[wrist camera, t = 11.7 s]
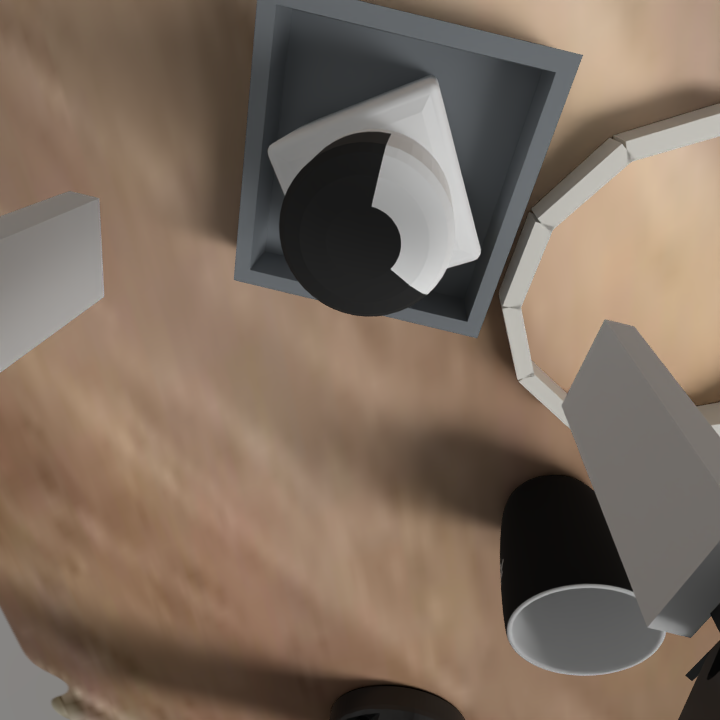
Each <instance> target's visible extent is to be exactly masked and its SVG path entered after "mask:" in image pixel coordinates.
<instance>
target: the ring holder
mask: <svg viewBox="0 0 720 720" xmlns="http://www.w3.org/2000/svg"><path fill="white" fill-rule="evenodd" d="M719 136H720V103H719V104H715V105H712V106H709V107H705V108H702V109H699V110H695V111H692V112H689V113H686V114H682V115H679V116H676V117H672V118H669V119H666V120H663V121H659V122H656V123H653V124H649V125H646V126H643V127H639V128H636V129H633V130H630V131H626V132H623V133H620V134H616V135H613V138H614V139H611V138H609V139H607V140H606V141H605V142H604V143H603V144H602V145H601V146H600V147H599V148H598V149H596V150H595V151H594V152H593V153H592V154H591V155H590V156H589V157H588V158H586V159H585V160H584V161H583V162H582V163H581V164H580V165H579V166H578V167H577V168H575V169H574V170H573V171H572V172H571V173H570V174H569V175H568V176H567V177H566V178H564V179H563V180H562V181H561V182H560V183H559V184H558V185H557V186H556V187H555V188H553V189H552V190H551V191H550V192H549V193H548V194H547V195H546V196H545V197H543V198H542V199H541V200H540V201H539V202H538V203H537V204H536V205H535V206H534V207H532V208H531V209H532V211H533V212H534V213H532V212H529V213H528V216H527V218H526V221H525V224H524V226H523V229H522V232H521V234H520V237H519V240H518V242H517V245H516V248H515V250H514V253H513V255H512V258H511V261H510V263H509V266H508V269H507V271H506V274H505V277H504V279H503V282H502V285H501V287H500V290H499V300H500V304H501V309H502V314H503V318H504V323H505V328H506V332H507V337H508V342H509V346H510V351H511V356H512V360H513V365H514V368H515V372H516V376H517V380H518V381H519V383H521V384H522V385H523V386H524V387H525V388H526V389H527V390H528V391H529V392H530V393H531V394H533V395H534V396H535V397H536V398H537V399H538V400H539V401H540V402H541V403H542V404H543V405H545V406H546V407H547V408H548V409H549V410H550V411H551V412H552V413H553V414H554V415H556V416H557V417H558V418H559V419H560V420H561V421H562V422H563V423H564V424H565V425H566V426H568V427H569V424H568V421H567V419H566V416H565V414H564V411H563V408H562V406H561V405H562V404H563V402H564V400H565V398H566V396H567V393H566V392H565V391H564V390H563V389H562V388H561V387H560V386H559V385H558V384H556V383H555V382H554V381H553V380H552V379H551V378H550V377H549V376H548V375H547V374H546V373H545V372H544V371H543V370H542V369H541V368H539V367H538V366H537V365H536V364H535V363H534V362H533V361H532V360H531V356H530V351H529V346H528V341H527V336H526V331H525V325H524V320H523V315H522V310H521V306H522V304H523V301H524V299H525V296H526V294H527V292H528V289H529V287H530V284H531V282H532V279H533V277H534V274H535V272H536V270H537V267H538V265H539V262H540V260H541V257H542V255H543V253H544V250H545V248H546V245H547V243H548V240H549V238H550V235H551V233H552V231H553V229H554V228H555V227H557V226H558V225H559V224H560V223H561V222H562V221H564V220H565V219H566V218H567V217H568V216H569V215H570V214H572V213H573V212H574V211H575V210H576V209H577V208H579V207H580V206H581V205H582V204H583V203H584V202H585V201H587V200H588V199H589V198H590V197H591V196H592V195H594V194H595V193H596V192H597V191H598V190H599V189H601V188H602V187H603V186H604V185H605V184H606V183H607V182H609V181H610V180H611V179H612V178H613V177H614V176H616V175H617V174H618V173H619V172H620V171H621V170H622V169H624V168H625V167H626V166H627V165H628V164H629V163H631V162H632V161H636V160H639V159H643V158H646V157H649V156H653V155H656V154H660V153H663V152H667V151H670V150H674V149H677V148H681V147H684V146H688V145H691V144H694V143H698V142H701V141H705V140H708V139H712V138H715V137H719ZM696 407H697V408H698V409H699V411H700V412H701V413H702V415H703V416H704V417H705V418H706V420H707V421H708V422H709V424H710V425H711V426H712V427H713V429H714V430H715V431H716V433H717V434H718V435H719V436H720V402H718V403H713V404H707V405H701V406H696ZM569 428H570V427H569Z"/></svg>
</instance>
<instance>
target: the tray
mask: <svg viewBox="0 0 720 720" xmlns="http://www.w3.org/2000/svg"><path fill="white" fill-rule="evenodd" d="M582 56H583V55H580V54H576V53H572V52H568V51H564V50H560V49H556V48H552V47H547V46H543V45H539V44H535V43H531V42H527V41H523V40H519V39H515V38H510V37H506V36H502V35H498V34H494V33H490V32H486V31H482V30H478V29H473V28H469V27H465V26H461V25H457V24H453V23H449V22H445V21H441V20H436V19H432V18H428V17H424V16H420V15H416V14H412V13H408V12H404V11H399V10H395V9H391V8H387V7H383V6H379V5H375V4H371V3H367V2H362V1H358V0H257V9H256V21H255V33H254V45H253V57H252V69H251V81H250V93H249V105H248V117H247V129H246V141H245V153H244V165H243V177H242V189H241V201H240V213H239V225H238V237H237V249H236V261H235V273H234V280H236V281H240V282H244V283H248V284H253V285H257V286H261V287H265V288H269V289H273V290H278V291H282V292H286V293H290V294H294V295H299V296H303V297H307V298H311V299H315V300H317V299H316V298H314V297H313V296H312V295H311V294H310V293H308V292H307V291H306V290H305V289H304V288H303V287H302V285H301V284H300V283H299V282H298V281H297V279H296V278H295V276H294V275H293V273H292V272H291V270H290V268H289V266H288V264H287V262H286V260H285V257H284V254H283V251H282V247H281V242H280V237H279V219H280V211H281V207H282V203H283V199H284V197H285V195H284V193H283V190H282V188H281V185H280V183H279V180H278V178H277V176H276V173H275V171H274V168H273V166H272V164H271V161H270V159H269V156H268V148H269V146H270V145H271V144H272V143H274V142H276V141H277V140H279V139H281V138H282V137H284V136H286V135H287V134H289V133H291V132H293V131H294V130H296V129H298V128H299V127H301V126H303V125H304V124H306V123H309V122H311V121H314V120H316V119H319V118H321V117H324V116H327V115H329V114H332V113H334V112H337V111H339V110H342V109H344V108H347V107H349V106H352V105H354V104H357V103H359V102H362V101H365V100H367V99H370V98H372V97H375V96H377V95H380V94H382V93H385V92H387V91H390V90H392V89H395V88H397V87H400V86H402V85H405V84H408V83H410V82H413V81H415V80H418V79H420V78H423V77H425V76H428V75H433V76H435V77H436V78H437V80H438V83H439V87H440V91H441V95H442V99H443V103H444V107H445V111H446V115H447V119H448V123H449V127H450V130H451V134H452V138H453V142H454V146H455V150H456V154H457V158H458V162H459V166H460V170H461V174H462V178H463V182H464V186H465V189H466V193H467V197H468V201H469V205H470V209H471V213H472V217H473V221H474V225H475V229H476V233H477V237H478V241H479V245H480V249H481V254H480V256H479V257H478V259H476V260H474V261H471V262H467V263H464V264H460V265H457V266H453V267H450V268H447V269H446V271H445V273H444V275H443V277H442V278H441V279H440V281H439V282H438V284H437V285H436V286H435V287H434V288H433V289H432V290H431V291H430V292H429V294H428V295H426V296H425V297H424V298H422V299H421V300H420V301H419V302H417V303H415V304H414V305H412V306H410V307H408V308H406V309H404V310H401V311H399V312H396V313H392V314H388V315H382V316H386V317H391V318H395V319H399V320H403V321H407V322H412V323H416V324H420V325H424V326H428V327H433V328H437V329H441V330H445V331H449V332H453V333H458V334H462V335H466V336H470V337H474V338H477V337H478V335H479V332H480V329H481V326H482V324H483V321H484V318H485V316H486V313H487V310H488V308H489V305H490V302H491V300H492V297H493V294H494V292H495V289H496V286H497V284H498V281H499V278H500V276H501V273H502V270H503V268H504V265H505V262H506V260H507V257H508V254H509V252H510V249H511V246H512V244H513V241H514V238H515V236H516V233H517V230H518V227H519V225H520V222H521V219H522V217H523V214H524V211H525V209H526V206H527V203H528V201H529V198H530V195H531V193H532V190H533V187H534V185H535V182H536V179H537V177H538V174H539V171H540V169H541V166H542V163H543V161H544V158H545V155H546V153H547V150H548V147H549V145H550V142H551V139H552V137H553V134H554V131H555V128H556V126H557V123H558V120H559V118H560V115H561V112H562V110H563V107H564V104H565V102H566V99H567V96H568V94H569V91H570V88H571V86H572V83H573V80H574V78H575V75H576V72H577V70H578V67H579V64H580V62H581V59H582Z"/></svg>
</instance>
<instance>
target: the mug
mask: <svg viewBox="0 0 720 720" xmlns="http://www.w3.org/2000/svg"><path fill="white" fill-rule="evenodd" d="M500 573H501V593H502V605H503V615H504V622H505V629H506V634H507V637H508V640H509V642H510V644H511V646H512V647H513V649H514V650H515V651H516V652H517V653H518V654H519V655H520V656H521V657H522V658H524V659H525V660H527V661H528V662H530V663H532V664H534V665H536V666H538V667H540V668H543V669H546V670H549V671H552V672H556V673H561V674H568V675H582V676H584V675H601V674H608V673H613V672H618V671H621V670H624V669H627V668H630V667H632V666H635V665H637V664H639V663H641V662H643V661H644V660H646V659H647V658H649V657H650V656H651V655H652V654H653V653H654V652H656V650H657V649H658V648H659V647H660V645H661V644H662V642H663V640H664V638H665V634H666V632H664V631H660V630H656V629H651V628H647V625H646V623H645V620H644V618H643V615H642V612H641V610H640V607H639V605H638V602H637V600H636V597H635V594H634V592H633V589H632V587H631V584H630V581H629V579H628V576H627V574H626V571H625V569H624V566H623V563H622V561H621V558H620V556H619V553H618V550H617V548H616V545H615V543H614V540H613V538H612V535H611V532H610V530H609V527H608V525H607V522H606V519H605V517H604V514H603V512H602V509H601V507H600V504H599V501H598V499H597V496H596V494H595V491H593V490H592V489H591V488H590V487H588V486H587V485H586V484H584V483H582V482H581V481H579V480H576V479H574V478H571V477H567V476H560V475H548V476H541V477H537V478H534V479H531V480H529V481H527V482H525V483H523V484H522V485H520V486H519V487H518V488H517V489H516V490H515V491H514V492H513V493H512V494H511V496H510V498H509V499H508V501H507V504H506V506H505V509H504V513H503V518H502V525H501V538H500Z"/></svg>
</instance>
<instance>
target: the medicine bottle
mask: <svg viewBox="0 0 720 720" xmlns="http://www.w3.org/2000/svg"><path fill="white" fill-rule="evenodd" d="M268 156H269V159H270V161H271V164H272V166H273V168H274V171H275V173H276V176H277V178H278V180H279V183H280V185H281V188H282V190H283V193H284V195H285V197H284V199H283V203H282V207H281V211H280V219H279V237H280V242H281V247H282V251H283V254H284V257H285V260H286V262H287V264H288V266H289V268H290V270H291V272H292V273H293V275H294V276H295V278H296V279H297V281H298V282H299V283H300V284H301V285H302V287H303V288H304V289H305V290H306V291H307V292H308V293H310V294H311V295H312V296H313V297H314V298H316V299H317V300H319V301H320V302H321V303H323V304H325V305H327V306H329V307H331V308H333V309H335V310H338V311H340V312H343V313H347V314H351V315H357V316H382V315H388V314H392V313H396V312H399V311H401V310H404V309H406V308H408V307H410V306H412V305H414V304H415V303H417V302H419V301H420V300H421V299H422V298H424V297H425V296H426V295H428V294H429V292H430V291H431V290H432V289H433V288H434V287H435V286H436V285H437V284H438V282H439V281H440V279H441V278H442V277H443V275H444V273H445V271H446V269H447V268H450V267H453V266H457V265H460V264H464V263H467V262H471V261H474V260H476V259H478V257H479V256H480V254H481V249H480V245H479V241H478V237H477V233H476V229H475V225H474V221H473V217H472V213H471V209H470V205H469V201H468V197H467V193H466V189H465V186H464V182H463V178H462V174H461V170H460V166H459V162H458V158H457V154H456V150H455V146H454V142H453V138H452V134H451V130H450V127H449V123H448V119H447V115H446V111H445V107H444V103H443V99H442V95H441V91H440V87H439V83H438V80H437V78H436V77H435V76H433V75H428V76H425V77H423V78H420V79H418V80H415V81H413V82H410V83H408V84H405V85H402V86H400V87H397V88H395V89H392V90H390V91H387V92H385V93H382V94H380V95H377V96H375V97H372V98H370V99H367V100H365V101H362V102H359V103H357V104H354V105H352V106H349V107H347V108H344V109H342V110H339V111H337V112H334V113H332V114H329V115H327V116H324V117H321V118H319V119H316V120H314V121H311V122H309V123H306V124H304V125H303V126H301V127H299V128H298V129H296V130H294V131H293V132H291V133H289V134H287V135H286V136H284V137H282V138H281V139H279V140H277V141H276V142H274V143H272V144H271V145H270V146H269V148H268Z"/></svg>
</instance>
